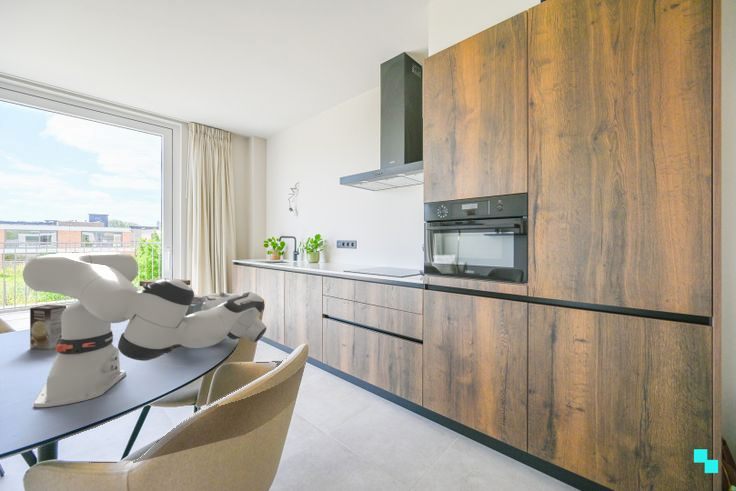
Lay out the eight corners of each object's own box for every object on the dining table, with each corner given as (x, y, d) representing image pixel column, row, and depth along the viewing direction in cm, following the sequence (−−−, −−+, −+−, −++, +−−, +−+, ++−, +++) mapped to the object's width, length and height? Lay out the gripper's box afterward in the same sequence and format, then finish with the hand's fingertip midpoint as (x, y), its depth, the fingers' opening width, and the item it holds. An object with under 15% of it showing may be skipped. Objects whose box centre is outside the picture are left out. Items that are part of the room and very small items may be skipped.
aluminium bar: (224, 304, 135) (223, 297, 135) (216, 305, 131) (216, 298, 131) (183, 300, 143) (183, 293, 143) (175, 301, 139) (175, 295, 139)
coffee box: (28, 348, 120) (28, 307, 120) (47, 343, 127) (47, 304, 126) (49, 349, 119) (49, 308, 119) (67, 344, 126) (67, 305, 125)
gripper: (212, 325, 121) (189, 306, 125) (247, 314, 141) (227, 297, 145) (218, 312, 120) (195, 293, 124) (253, 302, 140) (232, 286, 143)
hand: (212, 295), depth 134 cm, fingers open, 8 cm apart
